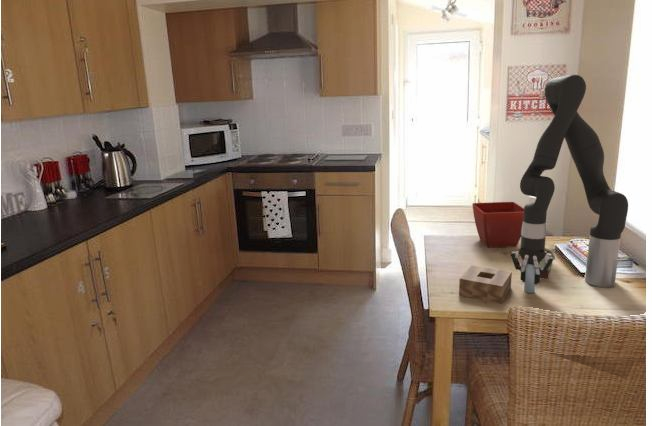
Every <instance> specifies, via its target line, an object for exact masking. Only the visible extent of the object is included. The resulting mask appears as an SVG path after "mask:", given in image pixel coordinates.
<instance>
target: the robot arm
mask: <svg viewBox="0 0 652 426" xmlns="http://www.w3.org/2000/svg"><path fill="white" fill-rule="evenodd" d="M586 90H587V84H586V81H585V79H584V78H583V76H581V75H579V74H567V75H562V76H558V77H553V78H551V79H549V80H548V81H547V83H546V84H545V87H544V97H545V99H546V102H547V105H548V106H549V108H550V110H551V112H552V114H553V115H554V116H553V118H552V120H551V121H550V123H549V124H548V126H547V127H546V128H545V130H544V132H543V133H542V134H541V136H540V138H539V140H538V142H537V144H536V147H535V151H534V155H533V158H532V160H531V162H530V164H529V166H528V167H527V169H526V170H525V172H524V173H523V175H522V177H521V179H520V182H519V188H520V192H521V193H522V194H523V195H525V196H528V197H529V196H533V197H536V201H535V203H529V202H528V203H526V204H525V205H524V207H523V208H524V213H523V224H522V230H521V238H520V247H519V250H518V251H512V252H511V253H510V257H511V259H512V263H513V266H514V268H515V270H516V271H517V270H518V271H519V272H520V277H519V278H520V281H521V282H522V283H524V284H525V270H526V264H527V263H528V264H530V263H531V264H534V266H535V270H536V274H535V286H536V285H538V284H539V283H540V282H541V279H540V275H541V274H545V273H546V271H547V270H548V268H549V266H550V265H551V263H552V264H553V261H554V260H553V259H554V257H552V256H551V257H550V256H548V255H546V253H545V248H546V240H547V239H546V236H547V220H546V216H547V217H548V209H549V206H550V203H551V201H552V199H553V195H554V192H555V190H556V189H555V188H556V187H555V186H556V185H555V182H554V180H553V179H552V178H551V177H548V176H545V175H542V174H543V173H544V172H545V171H549V170H553V169H555V167H556V165H557V162H558V158H559V156H560V152H561V150H562V149H561V148H562V146H563V143H564V140H565V143H566V145H567V148H568V150H569V153H570V156H571V158H572V161H573V163H574V165H575V168H576V170H577V172H578V173H577V174H578V175H579V177H580V179H581V182H582V186H583V189H584V192H585V195H586V200H587V203H588V206H589V209H590V210H591V211H592V212H593V213H595V214H597V215H598V221H597V224H594V225H592V226H591V227H590V230H589V240H588V249H587V258H586V266H585V274H584V275H585V277H584V281H585V283H587V284H588V285H591V286H594V287H598V288H599V287H600V288H615V285H616V279H617V278H616V277H617V270H618V269H617V268H618V263H619V261H618V260H619V253H620V252H619V251H620V246H621V245H620V244H621V243H620V242H621V238H622V233H623V232H624V229H625V227H626V222H627V216H628V211H629V201H628V198H627V197H626V195H624V194H623V193H622V192H621V193H620V192H618V191H616V190H612V189H611V188H610V186H609V184H608V182H607V180H606V177H605V173H604V163H605V151H604V148H603V145H602V143H601V140H600V138H599V136H598V133H596V131H595V130H594V129H593V128H592V127H591V125H589V124H588V122H587V121H586V120H584V119H583V117H582V116H581V115H580V113H579V112H578V109H579V108H580V105H581V103H582V102H583V100H584V97H585V94H586ZM519 256H520V259H521V258H522V259H523V264H522V263H521V264H520V260H519ZM544 258H545V259H546V260H545V262H546V265H545V267H544V268H543V269H541V267H540V261H542V260H543V259H544Z"/></svg>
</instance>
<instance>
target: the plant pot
mask: <svg viewBox="0 0 652 426" xmlns="http://www.w3.org/2000/svg"><path fill="white" fill-rule="evenodd" d="M472 212H473V218H474V219H473V220H474V223H475V227H476V231H477V236H478V237H479V240H480V241H481V243H483V244H484V246H486V247H487V248H507V247H508V248H514V247H517V245H518V244H519V243H520V241H521V230H522V224H523V213H524V207H523V206H522V205H519V204H518V203H516V202H515V201H497V202H496V201H494V202H493V201H492V202H491V201H490V202H473V203H472Z"/></svg>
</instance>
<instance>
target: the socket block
mask: <svg viewBox="0 0 652 426" xmlns="http://www.w3.org/2000/svg"><path fill="white" fill-rule="evenodd" d="M512 274H513V272H512V271H510V270H501V269H498V268H497V269H495V268H490V267H483V266H477V265H470V266H469V267H468V268H467V270H466V271H464V273H463V274H462V275H461V277H460V278H459V283H458V284H459V285H458V295H459V296H462V297H463V296H464V297H468V298H472V299H473V298H474V299H477V300H478V299H479V300H484V301H488V302H492V303H493V302H494V303H498V304H502V303H503V302H504V300H505V298H506V296H507V294H508V293H509V292H510V291H511V288H512V278H513V275H512Z"/></svg>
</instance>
